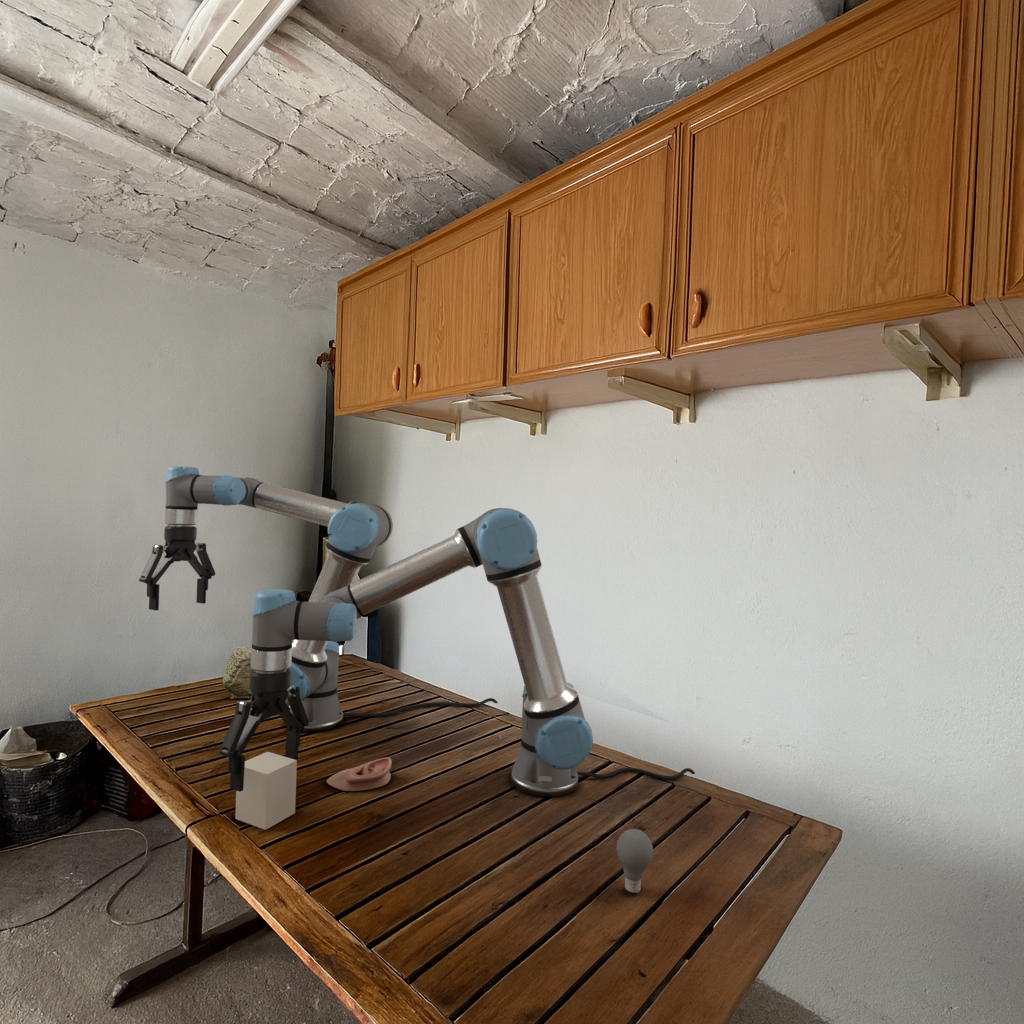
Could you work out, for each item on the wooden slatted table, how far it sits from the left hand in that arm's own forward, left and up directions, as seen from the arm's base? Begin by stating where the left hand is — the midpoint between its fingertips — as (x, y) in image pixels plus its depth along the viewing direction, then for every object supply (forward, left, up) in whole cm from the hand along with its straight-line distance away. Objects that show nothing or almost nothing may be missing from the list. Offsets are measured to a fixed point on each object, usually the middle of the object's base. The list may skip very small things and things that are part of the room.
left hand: (178, 606), depth 166 cm
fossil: (-30, -13, -33) cm, 46 cm away
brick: (+7, +58, -33) cm, 67 cm away
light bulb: (-20, +124, -33) cm, 130 cm away
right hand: (+8, +58, -25) cm, 63 cm away
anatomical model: (-15, +59, -33) cm, 69 cm away
